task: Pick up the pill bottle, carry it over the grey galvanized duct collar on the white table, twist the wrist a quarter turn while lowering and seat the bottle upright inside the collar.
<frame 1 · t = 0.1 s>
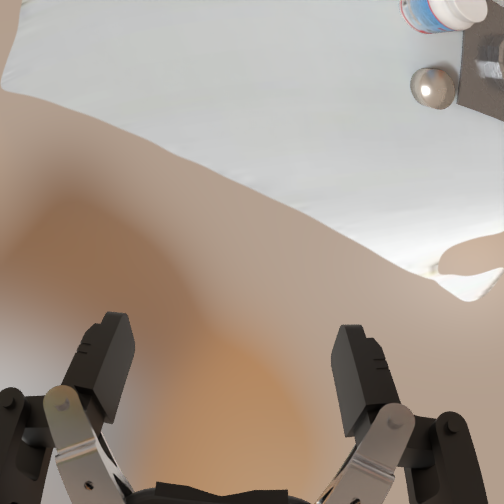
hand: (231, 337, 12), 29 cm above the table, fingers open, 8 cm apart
pill bottle: (418, 12, 26), on the table
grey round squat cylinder: (426, 87, 32), on the table
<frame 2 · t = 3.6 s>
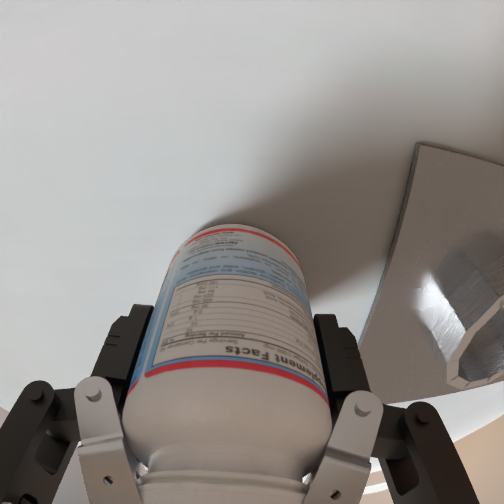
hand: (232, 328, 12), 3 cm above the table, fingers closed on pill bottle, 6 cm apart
pill bottle: (236, 275, 15), on the table, touching gripper
duct collar: (488, 308, 16), on the table
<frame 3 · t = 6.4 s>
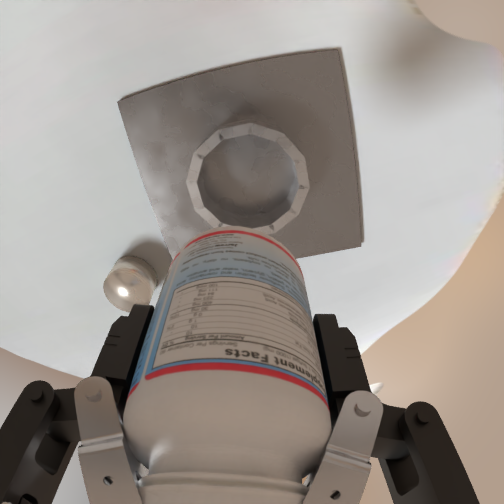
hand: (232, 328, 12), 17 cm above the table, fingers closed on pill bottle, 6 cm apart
pill bottle: (236, 277, 15), point 14 cm above the table, touching gripper
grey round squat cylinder: (134, 275, 32), on the table
duct collar: (248, 172, 26), on the table
when the fingers open (5 cm above the table, at t = 9.1 s): pill bottle drops 1 cm, resting on duct collar.
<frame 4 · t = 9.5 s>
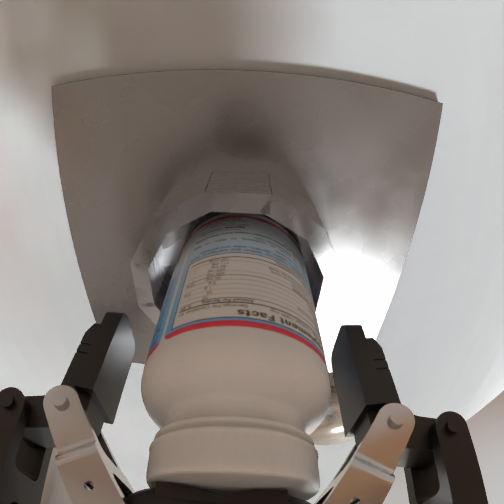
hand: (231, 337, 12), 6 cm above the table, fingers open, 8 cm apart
pill bottle: (242, 260, 16), resting on duct collar
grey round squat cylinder: (330, 402, 24), on the table
duct collar: (237, 256, 16), on the table
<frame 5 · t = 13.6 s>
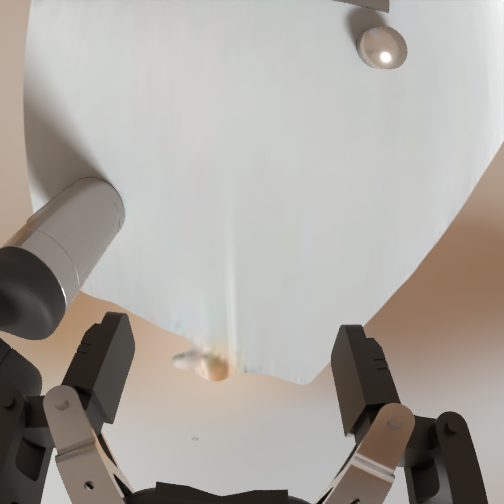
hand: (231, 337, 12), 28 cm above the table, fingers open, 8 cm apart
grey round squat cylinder: (376, 48, 29), on the table
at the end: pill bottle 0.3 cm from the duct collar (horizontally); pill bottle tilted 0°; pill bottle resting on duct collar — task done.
